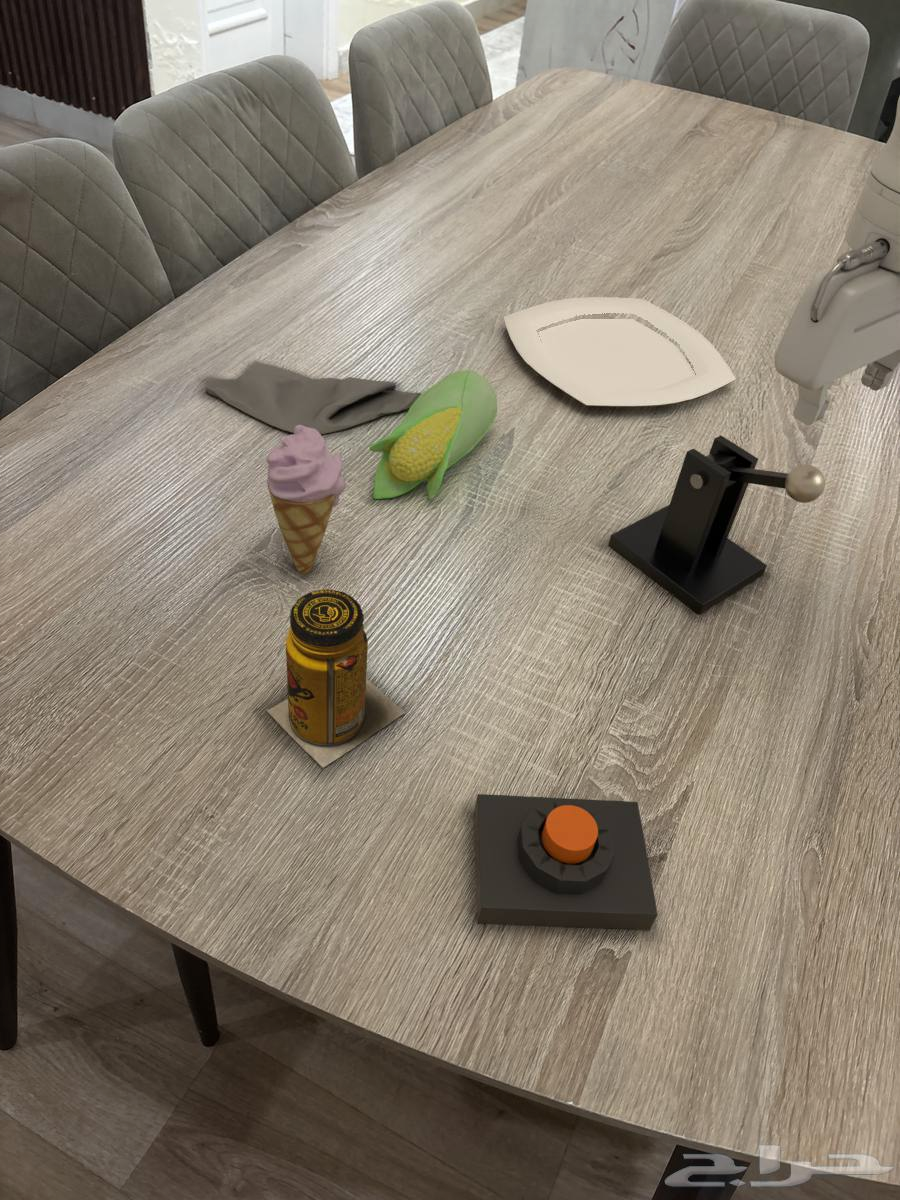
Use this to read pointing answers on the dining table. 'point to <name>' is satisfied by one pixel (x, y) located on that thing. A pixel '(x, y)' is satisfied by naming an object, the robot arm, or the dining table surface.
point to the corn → (435, 434)
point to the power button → (569, 834)
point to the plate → (617, 353)
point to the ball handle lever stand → (695, 533)
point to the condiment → (330, 678)
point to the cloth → (309, 398)
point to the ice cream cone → (304, 491)
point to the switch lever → (777, 478)
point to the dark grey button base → (560, 867)
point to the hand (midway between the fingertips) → (840, 401)
